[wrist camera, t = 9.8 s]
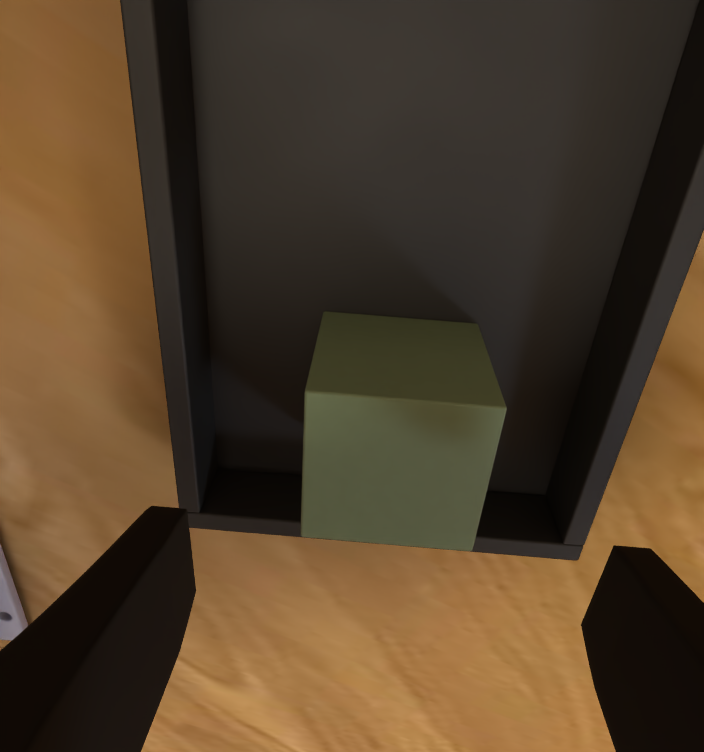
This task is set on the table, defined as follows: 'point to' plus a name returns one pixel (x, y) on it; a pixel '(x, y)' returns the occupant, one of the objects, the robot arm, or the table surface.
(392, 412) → the sage block
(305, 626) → the table surface
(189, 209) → the tray
